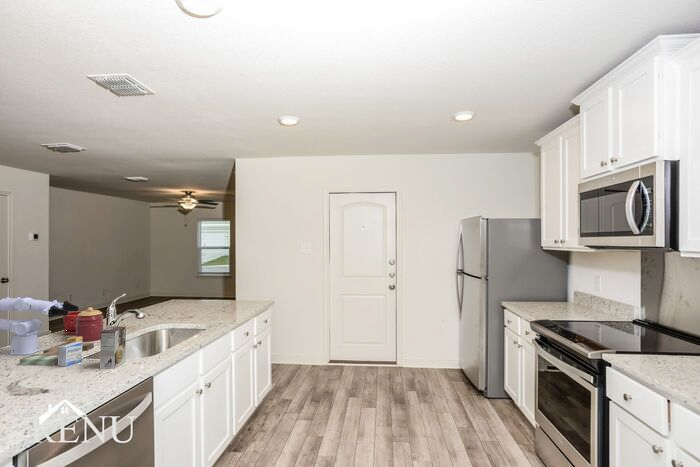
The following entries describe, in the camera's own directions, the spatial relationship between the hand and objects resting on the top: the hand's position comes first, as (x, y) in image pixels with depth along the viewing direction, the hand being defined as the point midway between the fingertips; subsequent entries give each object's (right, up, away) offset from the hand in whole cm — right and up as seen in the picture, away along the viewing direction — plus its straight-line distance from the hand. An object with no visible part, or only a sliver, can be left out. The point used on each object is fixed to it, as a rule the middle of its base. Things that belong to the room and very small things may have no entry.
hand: (73, 310), depth 183 cm
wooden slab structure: (-1, -20, -7) cm, 21 cm away
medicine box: (+12, -20, -18) cm, 29 cm away
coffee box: (+32, -20, -19) cm, 42 cm away
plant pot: (-24, -21, +35) cm, 48 cm away
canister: (-8, -21, +23) cm, 32 cm away
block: (-1, -18, +3) cm, 18 cm away
